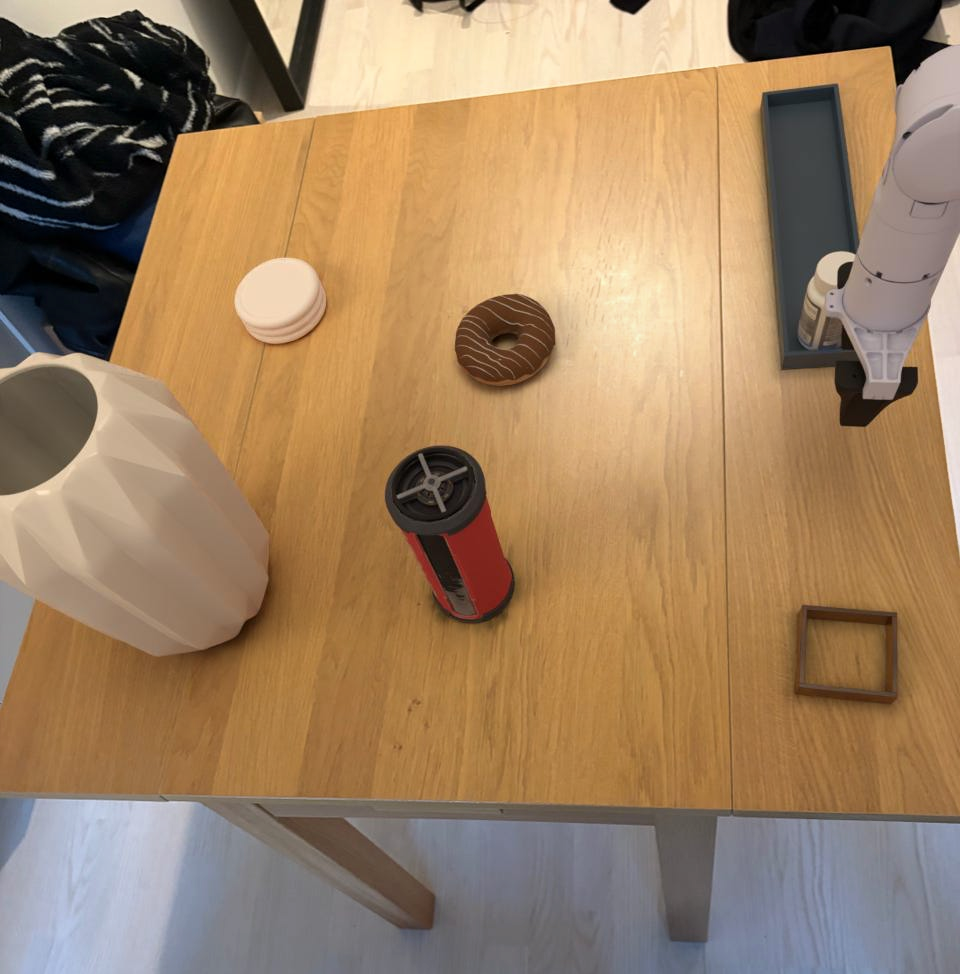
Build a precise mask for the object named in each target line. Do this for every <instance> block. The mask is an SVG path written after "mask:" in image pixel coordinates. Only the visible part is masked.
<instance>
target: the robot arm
mask: <svg viewBox="0 0 960 974" xmlns="http://www.w3.org/2000/svg"><path fill="white" fill-rule="evenodd" d="M894 94H895V95H894V114H895V123H894V124H895V125H894V135H893V138H894V139H893V142H892V144H891V148H890V151H889V155H888V157H887V159H886V162H885V163H884V165H883V168H882V173H881V177H880V178H879V181H878V182H877V184H876V186H875V190H874V193H873V197H872V200H871V203H870V207H869V210H868V212H867V215H866V220H865V222H864V227H863V230H862V233H861V236H860V238H859V242H860V243H859V246H858V249H857V253H856V256H855V259H854V262H846V263H844V264H842V265H841V266H840V267H839V268H838V272H837V288H838V289H833V290H829V291H828V292H827V294H826V297H825V301H824V313H825V315H826V316H827V317H836V318H839V319H840V320H841V321H842V333H841V346H842V350H855V351H856V353H857V355H858V357H859V359H860V361H836V362H835V366H834V387H835V391H836V393H837V394H838V395H839V398H840V402H839V418H838V419H839V425H840V426H841V427H849V428H851V427H854V428H857V427H858V428H866V427H867V426H869V425H870V423H872V422H873V421H874V420H875V418H877V417H878V415H880V413H882V411H884V410H885V409H886V408H887V407H888V406H890V405H891V404H892V403H895V402H897V401H899V400H901V399H904V398H906V397H908V396H911V395H912V394H914V392H915V390H916V389H917V386H918V385H919V367H918V366H904V364H905V363H906V361H907V359H908V356H909V354H910V352H911V350H912V349H913V346H914V344H915V341H916V340H917V338H918V336H919V333H920V332H921V329H922V328H923V325H924V323H925V321H926V319H927V318H928V315H929V313H930V310H931V307H932V298H933V296H934V294H935V291H936V289H937V287H938V285H939V282H940V280H941V278H942V276H943V274H944V271H945V269H946V266H947V264H948V261H949V259H950V257H951V255H952V252H953V250H954V248H955V245H956V243H957V241H958V238H959V236H960V43H957V44H953V45H950V46H947V47H945V48H943V49H940V50H939V51H937V52H935V53H934V54H932V55H930V56H928V57H927V58H926V59H924V60H923V61H922V62H920V66H918V68H917V69H915V68H914V69H913V70H912V71H911V73H910V74H909V75H908V77H907V78H906V79H905V81H904V83H903V84H899V85H898V86H897V87H896V89H895V93H894Z"/></svg>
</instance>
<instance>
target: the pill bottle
mask: <svg viewBox="0 0 960 974" xmlns="http://www.w3.org/2000/svg"><path fill="white" fill-rule="evenodd" d="M855 256H856V255H855V254H853V253H850V252H843V251H841V252H833V253H830V254H828V255H826V256H825V257H823V258H822V259H821V260H820V261H819V263H818V265H817V268H816V272H815V275H814V276H813V278H812V279H811V280H810V282H809V284H808V287H807V292H806V296H805V300H804V304H803V308H802V313H801V317H800V321H799V325H798V330H797V337H798V340H799V342H800V343H801V345H802V346H803V347H805V348H806V349H808V350H820V349H836V348H840V347H841V333H842V321H841V320H840V319H839V318H836V317H827V316H826V315H825V313H824V301H825V297H826V294H827V292H828V291H829V290H833V289H838V288H837V272H838V268H839V267H840V266H841V265H842V264H844V263H846V262H854V259H855Z"/></svg>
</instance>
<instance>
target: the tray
mask: <svg viewBox="0 0 960 974" xmlns="http://www.w3.org/2000/svg"><path fill="white" fill-rule="evenodd" d="M841 102H842V101H841V94H840V88H839V83H838V82H837V83H828V84H821V85H812V86H804V87H795V88H787V89H779V90H771V91H763V92H762V93H761V99H760V105H759V106H760V107H759V114H760V127H761V137H762V139H761V140H762V151H763V161H764V174H765V187H766V200H767V211H768V212H767V213H768V224H769V237H770V248H771V249H770V250H771V259H772V271H773V273H772V274H773V285H774V286H773V287H774V298H775V308H776V311H775V312H776V321H777V322H776V323H777V333H778V335H777V336H778V345H779V359H780V369H781V370H796V369H816V368H830V367H835V362H836V361H860V359H859V357H858V355H857V353H856V351H855V350H842V346H841V347H840V348H836V349H820V350H808V349H806V348H805V347H803V346H802V345H801V343H800V342H799V340H798V337H797V330H798V325H799V321H800V317H801V313H802V308H803V304H804V300H805V296H806V292H807V287H808V284H809V282H810V280H811V279H812V278H813V276H814V275H815V272H816V268H817V265H818V263H819V261H820V260H821V259H822V258H823V257H825V256H826V255H828V254H830V253H833V252H841V251H843V252H850V253H853V254H855V255H856V253H857V249H858V246H859V243H860V237H859V228H858V220H857V214H856V213H857V212H856V205H855V199H854V198H855V197H854V192H853V183H852V177H851V167H850V162H849V154H848V145H847V140H846V132H845V125H844V117H843V110H842V103H841Z"/></svg>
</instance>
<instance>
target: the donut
mask: <svg viewBox="0 0 960 974" xmlns="http://www.w3.org/2000/svg"><path fill="white" fill-rule="evenodd" d="M502 334H514V335H517V342H516V344H515V345H514V346H513V347H511V348H508V349H507V348H501V347H497V346H494V343H493V340H494V339H495V338H496V337H498V336H500V335H502ZM454 339H455V340H454V352H455V355H456V359H457V363H458V364H459V365H460V366H461V367H462V369H463V370H464V371H465V372H466V374H467V375H469V376H470V377H472V379H474V380H475V381H478V382H481V383H483V384H485V385H491V386H497V387H498V386H499V387H501V386H512V385H515V384H519V383H521V382H524V381H526V380H527V379H530V378H531V377H533V376H534V375H536V374H537V373H538V372H539V371H540V370H541V369H542V368H543V367H544V366H545V365H546V364H547V362H548V360H549V358H550V357H551V355H552V353H553V349H554V347H555V346H556V345H557V344H556V328H555V325H554V323H553V321H552V318H551V316H550V314H549V312H548V310H547V309H545V307H544V306H543V305H542V304H541V303H539V301H537V300H535V299H534V298H532V297H529V296H527V295H524V294H520V293H509V294H501V295H497V296H494V297H491V298H487V299H486V300H483V301H481V302H480V303H478V304H476V305H475V306H473V307H472V308H471V309H470V310H469V311H468V312H467V313H466V314H465V315H464V316H463V317H462V318H461V320H460V322H459V324H458V326H457V328H456V332H455V338H454Z"/></svg>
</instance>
